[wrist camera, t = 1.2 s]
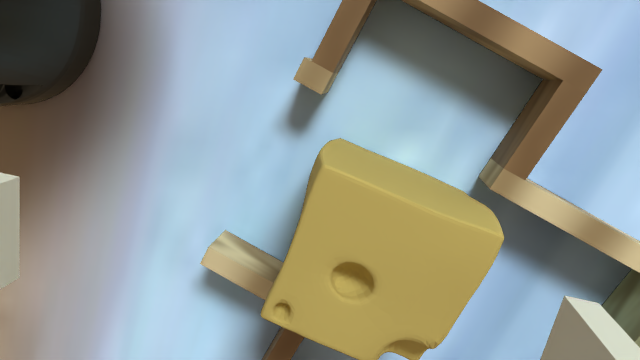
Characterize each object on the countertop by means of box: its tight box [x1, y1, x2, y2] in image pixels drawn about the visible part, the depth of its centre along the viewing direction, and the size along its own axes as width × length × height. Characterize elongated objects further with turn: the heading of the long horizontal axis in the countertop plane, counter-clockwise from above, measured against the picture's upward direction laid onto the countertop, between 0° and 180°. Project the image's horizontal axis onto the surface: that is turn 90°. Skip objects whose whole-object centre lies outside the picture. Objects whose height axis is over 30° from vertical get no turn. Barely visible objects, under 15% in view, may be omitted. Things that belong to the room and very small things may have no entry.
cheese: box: [261, 138, 504, 360], centre depth 29 cm, size 10×11×10 cm
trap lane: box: [200, 0, 640, 360], centre depth 31 cm, size 28×31×4 cm
